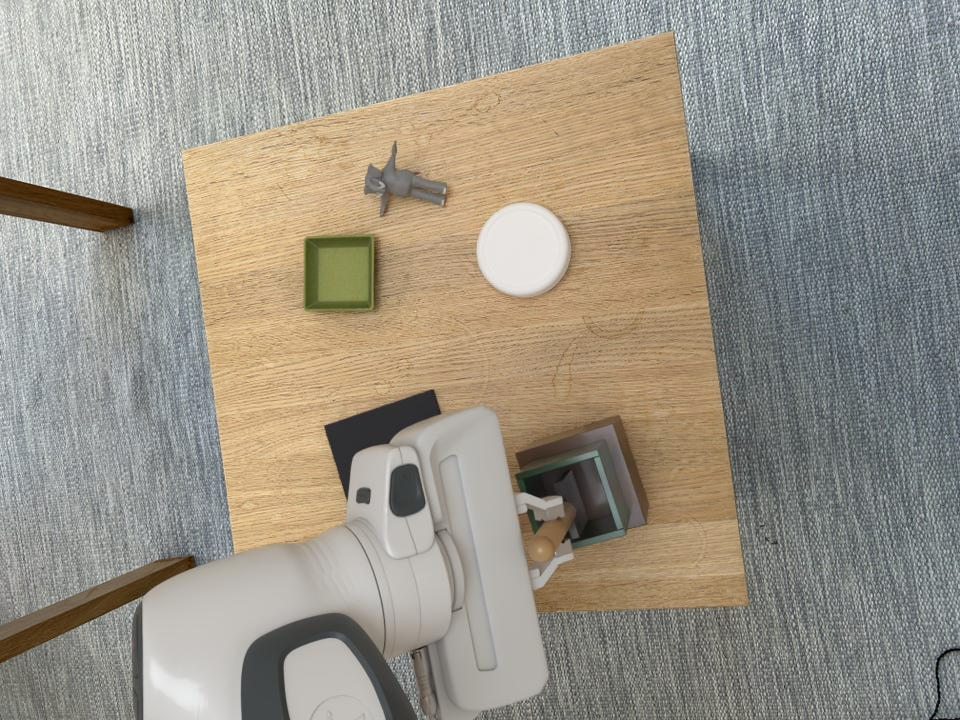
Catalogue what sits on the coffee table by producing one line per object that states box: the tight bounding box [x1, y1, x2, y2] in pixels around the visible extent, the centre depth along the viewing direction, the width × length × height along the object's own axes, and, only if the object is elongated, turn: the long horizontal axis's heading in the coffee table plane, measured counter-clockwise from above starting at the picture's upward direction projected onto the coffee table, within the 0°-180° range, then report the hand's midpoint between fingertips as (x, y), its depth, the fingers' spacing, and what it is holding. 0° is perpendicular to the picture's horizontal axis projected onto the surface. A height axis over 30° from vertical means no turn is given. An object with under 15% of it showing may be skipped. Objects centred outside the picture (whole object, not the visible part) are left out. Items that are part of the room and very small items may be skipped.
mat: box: [323, 388, 442, 503], centre depth 88 cm, size 18×14×1 cm
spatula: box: [527, 470, 588, 563], centre depth 60 cm, size 5×2×21 cm, turn 19°
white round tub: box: [475, 201, 572, 299], centre depth 83 cm, size 10×10×4 cm
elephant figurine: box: [363, 140, 448, 218], centre depth 85 cm, size 10×6×9 cm
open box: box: [514, 414, 650, 551], centre depth 75 cm, size 10×10×18 cm
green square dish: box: [302, 233, 375, 312], centre depth 89 cm, size 9×9×2 cm
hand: (563, 525), depth 57 cm, fingers closed on spatula, 2 cm apart
